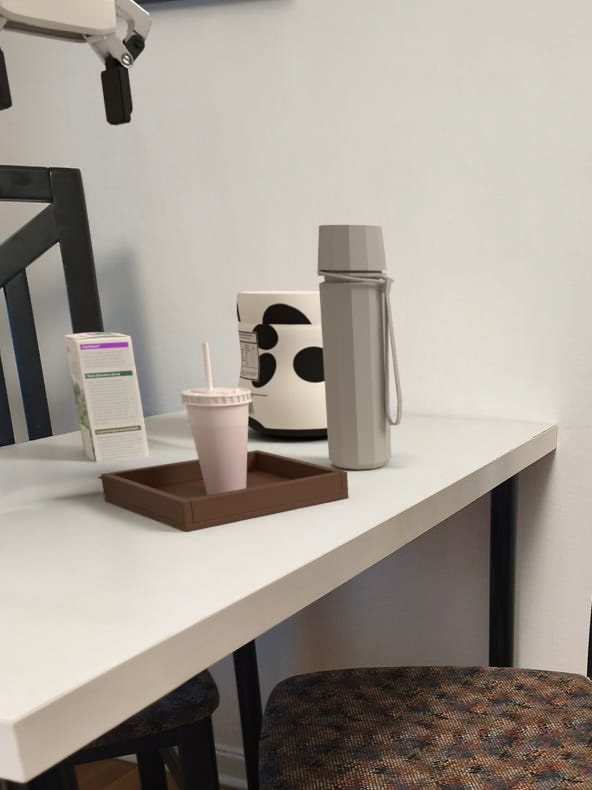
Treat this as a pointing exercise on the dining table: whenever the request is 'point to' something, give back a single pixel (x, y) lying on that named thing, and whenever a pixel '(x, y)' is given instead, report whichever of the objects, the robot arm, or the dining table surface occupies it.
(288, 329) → the milk container
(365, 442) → the water bottle
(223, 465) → the smoothie
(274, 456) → the tray
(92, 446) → the syrup box
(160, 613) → the dining table surface
